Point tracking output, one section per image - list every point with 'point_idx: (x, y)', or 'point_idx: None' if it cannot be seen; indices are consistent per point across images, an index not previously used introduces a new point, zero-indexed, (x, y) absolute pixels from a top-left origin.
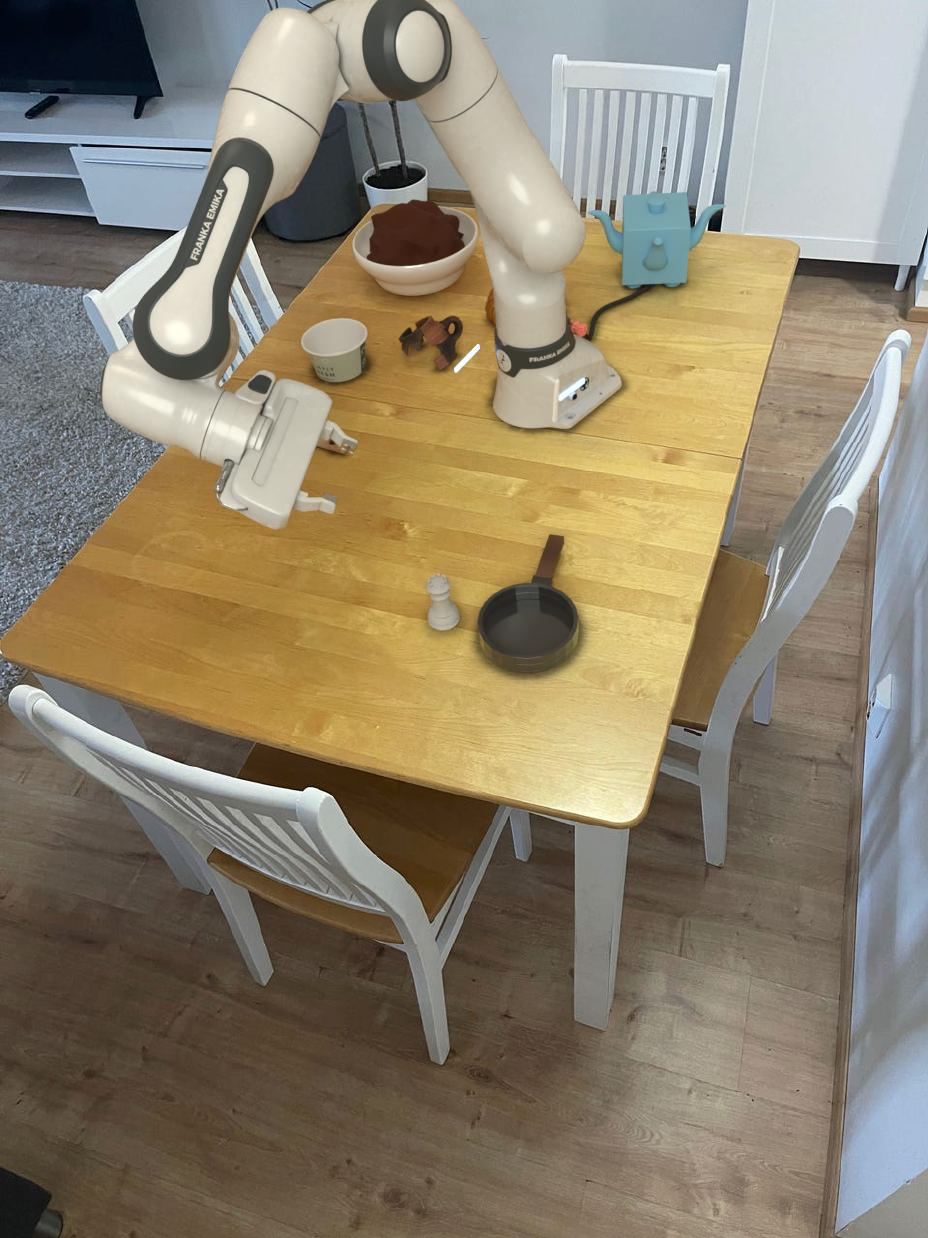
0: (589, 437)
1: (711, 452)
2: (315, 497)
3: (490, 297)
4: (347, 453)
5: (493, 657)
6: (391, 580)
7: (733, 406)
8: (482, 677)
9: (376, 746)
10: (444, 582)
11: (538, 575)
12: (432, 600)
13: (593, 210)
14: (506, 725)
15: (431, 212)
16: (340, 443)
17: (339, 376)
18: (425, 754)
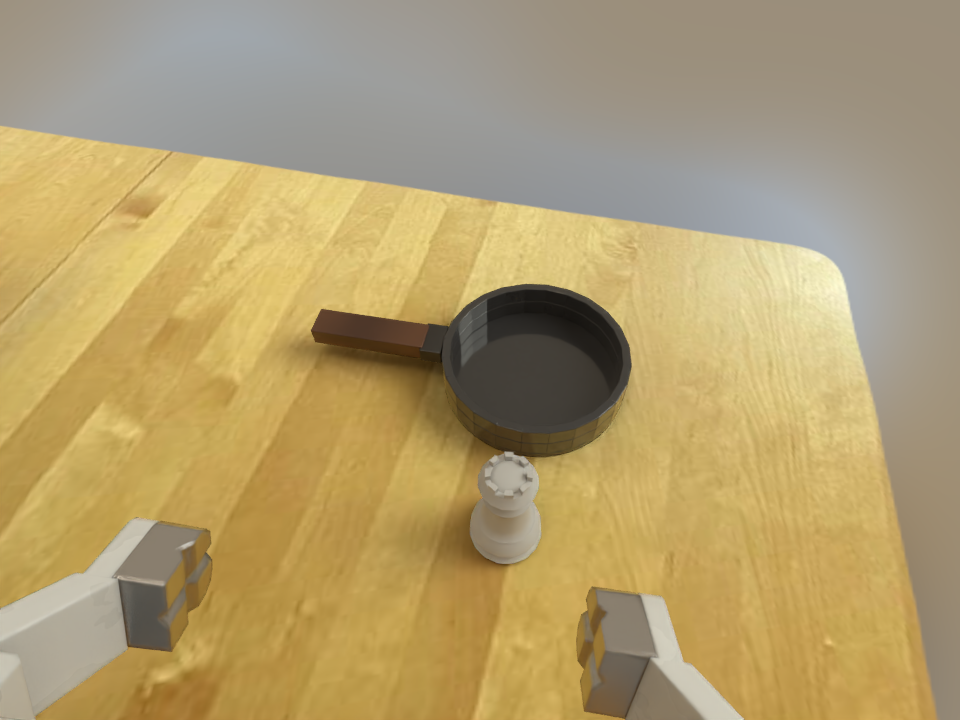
0: (21, 307)
1: (149, 169)
2: (691, 699)
3: None
4: (194, 597)
5: (612, 416)
6: (369, 686)
7: (53, 146)
8: (643, 444)
9: (879, 636)
10: (512, 458)
11: (422, 341)
12: (520, 515)
13: None
14: (738, 398)
15: None
16: (114, 634)
17: None
18: (853, 527)
